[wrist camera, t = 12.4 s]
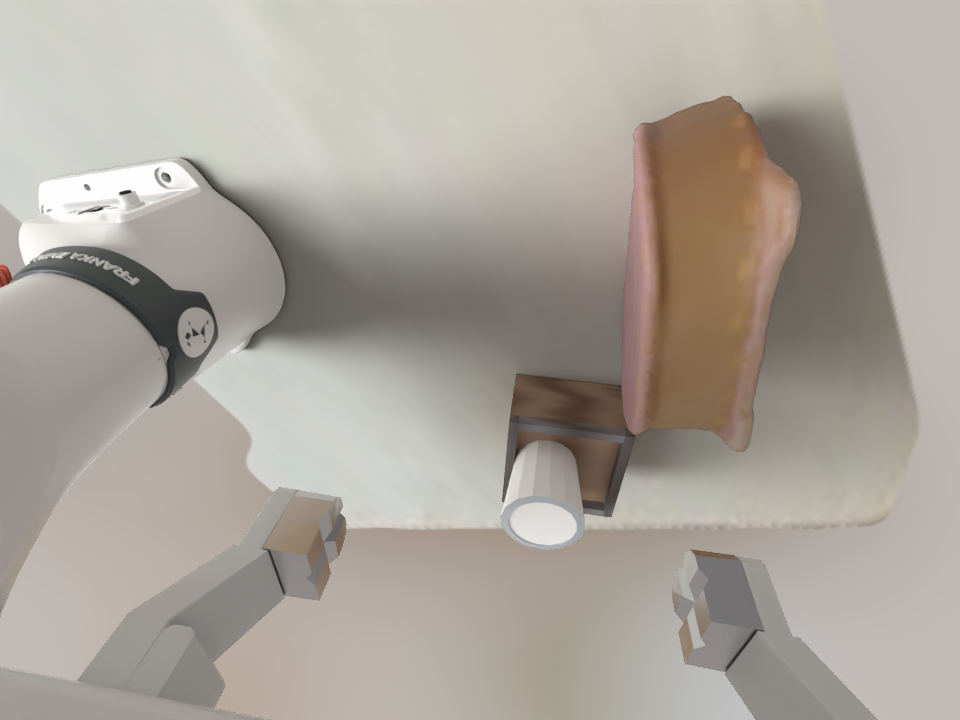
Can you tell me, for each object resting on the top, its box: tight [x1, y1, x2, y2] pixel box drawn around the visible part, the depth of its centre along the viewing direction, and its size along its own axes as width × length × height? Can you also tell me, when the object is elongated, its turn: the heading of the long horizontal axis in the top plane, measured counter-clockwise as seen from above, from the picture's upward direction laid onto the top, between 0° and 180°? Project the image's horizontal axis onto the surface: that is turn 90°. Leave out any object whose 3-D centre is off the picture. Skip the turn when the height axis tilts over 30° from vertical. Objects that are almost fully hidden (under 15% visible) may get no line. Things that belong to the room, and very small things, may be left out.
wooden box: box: [502, 374, 635, 517], centre depth 46 cm, size 11×11×7 cm
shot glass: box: [501, 440, 585, 550], centre depth 42 cm, size 7×7×7 cm
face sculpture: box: [621, 96, 802, 452], centre depth 31 cm, size 20×7×17 cm, turn 9°
